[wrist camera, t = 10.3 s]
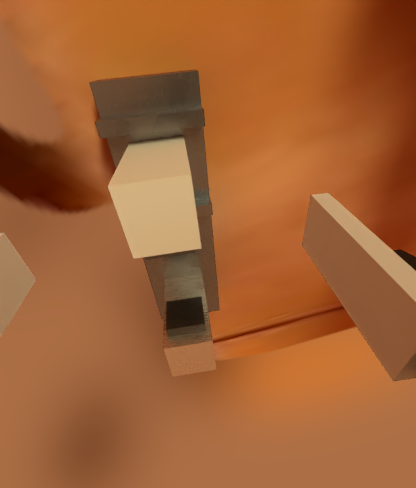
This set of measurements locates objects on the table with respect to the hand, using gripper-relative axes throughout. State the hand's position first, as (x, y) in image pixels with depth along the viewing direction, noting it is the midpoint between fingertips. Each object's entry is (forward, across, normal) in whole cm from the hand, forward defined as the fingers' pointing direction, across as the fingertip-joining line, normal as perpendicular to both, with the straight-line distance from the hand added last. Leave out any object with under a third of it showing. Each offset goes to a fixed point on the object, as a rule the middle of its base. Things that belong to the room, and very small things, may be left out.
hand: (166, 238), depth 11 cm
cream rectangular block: (+10, -1, 0) cm, 10 cm away
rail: (+13, -1, -6) cm, 14 cm away
